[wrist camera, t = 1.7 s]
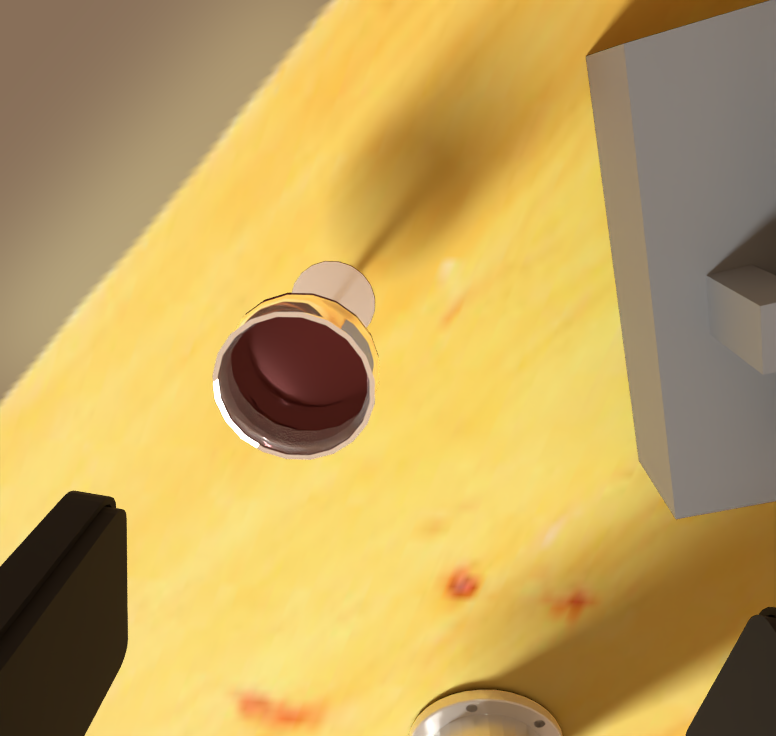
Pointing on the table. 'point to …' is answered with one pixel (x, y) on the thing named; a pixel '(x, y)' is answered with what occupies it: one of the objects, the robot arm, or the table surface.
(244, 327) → the wineglass
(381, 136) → the table surface
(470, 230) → the table surface
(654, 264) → the box
